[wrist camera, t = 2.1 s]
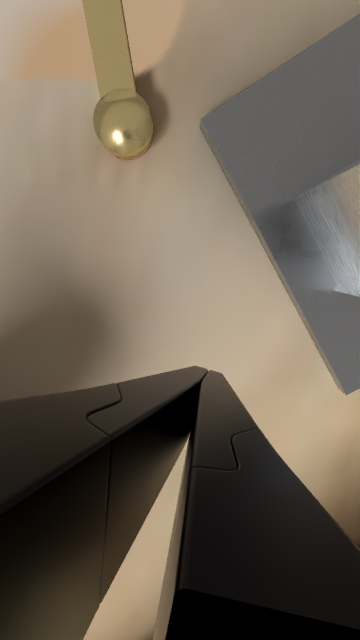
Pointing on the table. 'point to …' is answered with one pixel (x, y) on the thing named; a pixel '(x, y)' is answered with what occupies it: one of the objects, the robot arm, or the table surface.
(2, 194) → the table surface
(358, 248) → the block
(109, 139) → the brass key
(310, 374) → the table surface
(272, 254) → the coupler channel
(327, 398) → the table surface
